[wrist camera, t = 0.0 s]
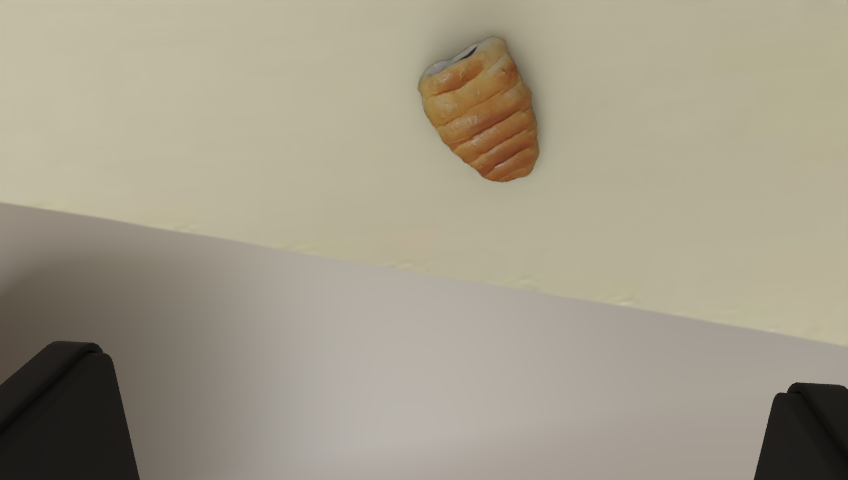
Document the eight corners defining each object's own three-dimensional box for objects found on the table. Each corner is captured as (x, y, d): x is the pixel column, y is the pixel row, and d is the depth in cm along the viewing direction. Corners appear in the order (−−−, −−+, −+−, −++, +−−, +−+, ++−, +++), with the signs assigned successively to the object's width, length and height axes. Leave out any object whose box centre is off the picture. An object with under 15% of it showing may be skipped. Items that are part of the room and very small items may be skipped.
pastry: (562, 149, 45) (567, 165, 42) (476, 193, 47) (474, 212, 44) (497, 25, 42) (496, 31, 39) (409, 78, 44) (400, 88, 41)
